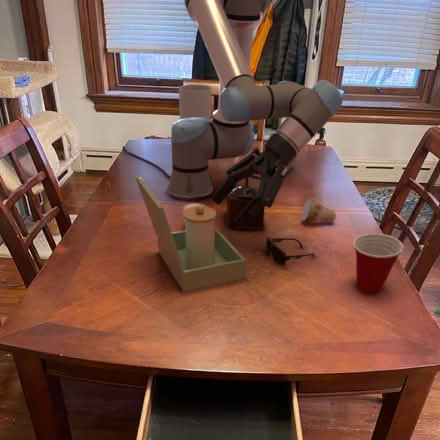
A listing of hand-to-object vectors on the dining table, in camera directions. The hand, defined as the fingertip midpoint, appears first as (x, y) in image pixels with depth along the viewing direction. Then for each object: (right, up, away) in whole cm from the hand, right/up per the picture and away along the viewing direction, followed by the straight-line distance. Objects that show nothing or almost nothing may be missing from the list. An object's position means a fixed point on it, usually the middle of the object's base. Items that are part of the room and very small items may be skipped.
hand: (225, 212), depth 110 cm
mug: (+28, +2, +29) cm, 41 cm away
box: (-6, -13, +6) cm, 15 cm away
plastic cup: (+34, -18, 0) cm, 38 cm away
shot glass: (-9, -1, +23) cm, 24 cm away
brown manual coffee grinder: (+8, +2, +28) cm, 29 cm away
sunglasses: (+17, -10, +11) cm, 23 cm away
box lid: (-15, -3, -5) cm, 16 cm away
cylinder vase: (-11, +39, +81) cm, 91 cm away
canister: (-6, -12, +5) cm, 15 cm away
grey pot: (+22, +29, +68) cm, 77 cm away
